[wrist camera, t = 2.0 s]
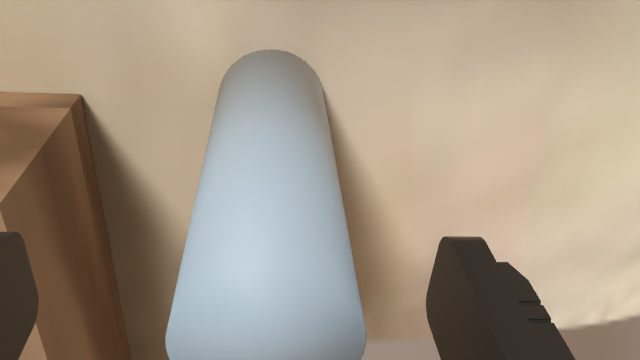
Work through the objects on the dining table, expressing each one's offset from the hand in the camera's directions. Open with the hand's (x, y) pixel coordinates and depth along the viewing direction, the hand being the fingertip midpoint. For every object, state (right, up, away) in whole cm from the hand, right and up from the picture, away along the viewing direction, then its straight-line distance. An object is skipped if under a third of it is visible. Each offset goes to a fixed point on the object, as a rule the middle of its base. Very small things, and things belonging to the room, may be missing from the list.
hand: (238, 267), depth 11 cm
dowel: (0, +4, +7) cm, 8 cm away
